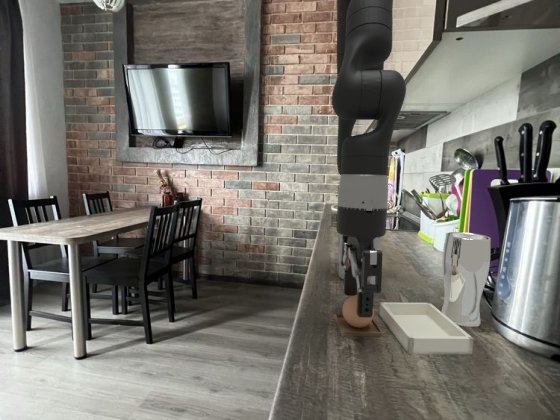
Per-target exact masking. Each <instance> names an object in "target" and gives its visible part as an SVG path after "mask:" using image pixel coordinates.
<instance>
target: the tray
mask: <svg viewBox="0 0 560 420" xmlns="http://www.w3.org/2000/svg"><path fill="white" fill-rule="evenodd" d="M378 309H379V310H378V315H379V317H380V319H381V320H382V321H383V323H384V324H385V325H386V327H387V328H388V329H389V331H390V332H391V333H392V334H393V336H394V337H395V339H396V340H397V341H398V342H399V343H400V345H401V346H402V348H403V349H404V350H405V351H406V353H407V354H408V355H462V356H463V355H467V356H468V355H472V356H473V351H474V340H475V338H474V337H472V336H471V335H470V334H469V333H467V332H466V331H465V329H462V328H461V327H460V325H457V324H455V323H454V322H453V321H452V320H450V319H449V318H448V317H447V316H446V315H444V314H443V313H442V312H441V310H440V309H438V308H437V307H436V306H435V305H434V304H432V303H431V302H384V301H383V302H379V308H378Z"/></svg>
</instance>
